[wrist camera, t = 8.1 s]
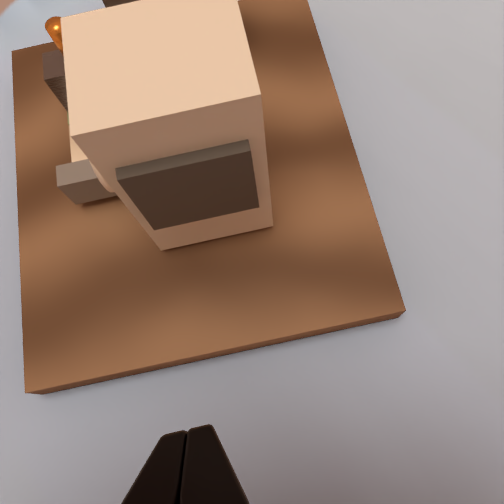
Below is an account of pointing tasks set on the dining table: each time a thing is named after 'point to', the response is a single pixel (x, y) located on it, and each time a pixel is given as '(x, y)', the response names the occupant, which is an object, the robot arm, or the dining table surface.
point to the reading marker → (55, 62)
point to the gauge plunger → (167, 118)
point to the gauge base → (202, 253)
